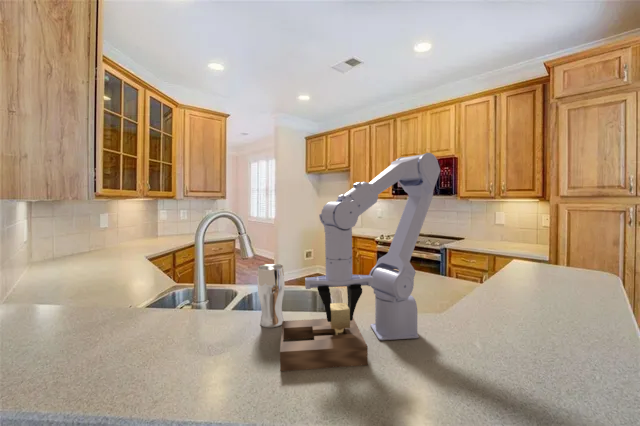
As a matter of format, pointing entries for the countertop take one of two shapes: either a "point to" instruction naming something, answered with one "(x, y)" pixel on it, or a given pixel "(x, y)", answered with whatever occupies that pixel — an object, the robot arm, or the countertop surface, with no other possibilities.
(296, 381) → the countertop surface
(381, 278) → the robot arm
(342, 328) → the brass peg
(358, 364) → the keyhole board
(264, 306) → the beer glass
